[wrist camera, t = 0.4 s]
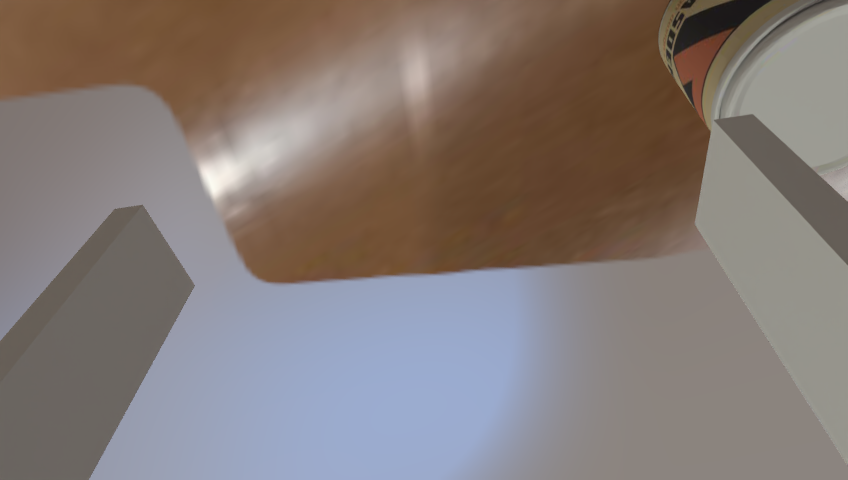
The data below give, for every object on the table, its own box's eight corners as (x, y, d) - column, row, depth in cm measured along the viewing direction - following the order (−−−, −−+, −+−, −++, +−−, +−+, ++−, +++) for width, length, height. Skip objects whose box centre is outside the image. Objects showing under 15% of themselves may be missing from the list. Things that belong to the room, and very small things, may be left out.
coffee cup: (670, -63, 30) (773, -15, 21) (831, -58, 30) (1007, -8, 20) (627, 90, 36) (692, 181, 26) (761, 94, 36) (874, 188, 26)
